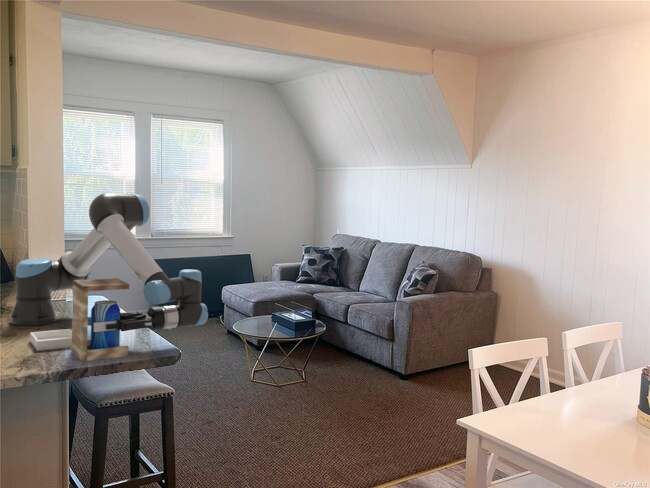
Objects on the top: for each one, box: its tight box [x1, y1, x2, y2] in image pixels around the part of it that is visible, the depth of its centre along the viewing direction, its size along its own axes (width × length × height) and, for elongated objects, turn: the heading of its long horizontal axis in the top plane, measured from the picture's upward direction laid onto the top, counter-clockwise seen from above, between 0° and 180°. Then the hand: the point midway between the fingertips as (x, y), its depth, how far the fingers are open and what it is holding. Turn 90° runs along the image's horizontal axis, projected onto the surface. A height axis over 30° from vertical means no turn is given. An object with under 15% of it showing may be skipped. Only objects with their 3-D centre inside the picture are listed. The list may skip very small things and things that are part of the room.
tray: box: [29, 328, 72, 351], centre depth 181 cm, size 12×12×3 cm
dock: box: [71, 277, 130, 362], centre depth 173 cm, size 14×13×22 cm
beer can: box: [90, 299, 121, 350], centre depth 174 cm, size 8×8×16 cm
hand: (90, 324), depth 171 cm, fingers closed on beer can, 8 cm apart
